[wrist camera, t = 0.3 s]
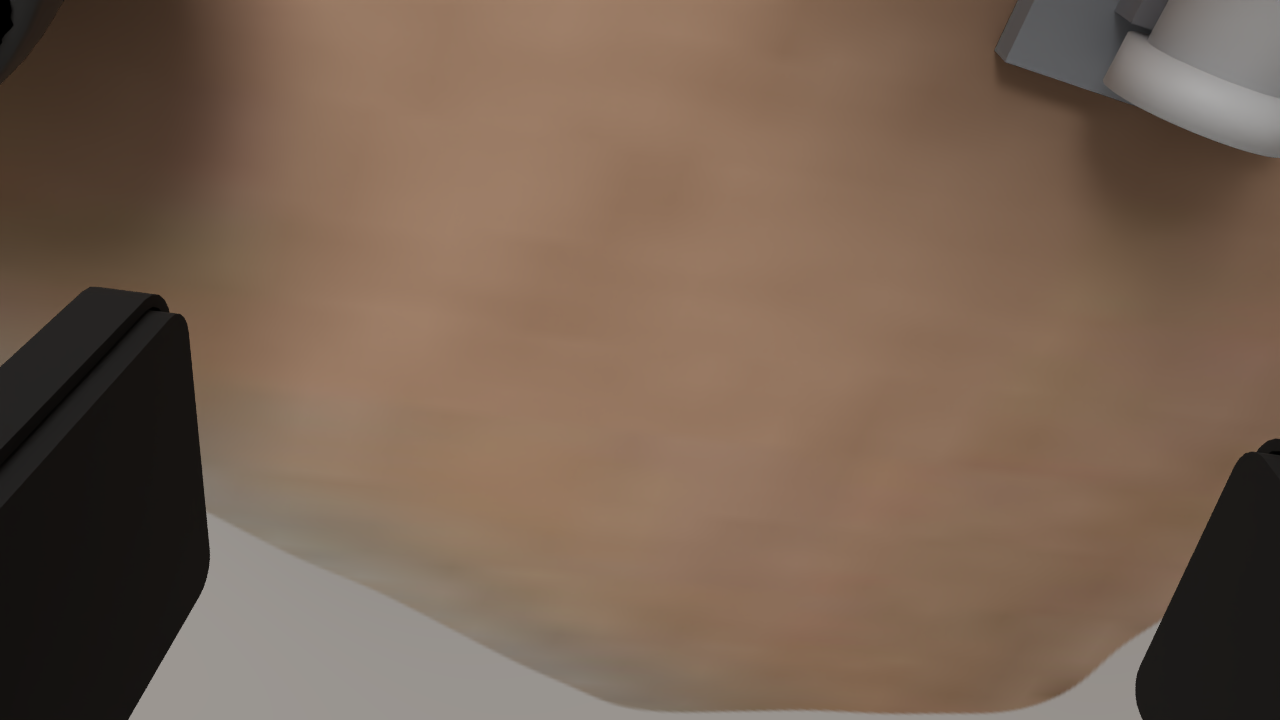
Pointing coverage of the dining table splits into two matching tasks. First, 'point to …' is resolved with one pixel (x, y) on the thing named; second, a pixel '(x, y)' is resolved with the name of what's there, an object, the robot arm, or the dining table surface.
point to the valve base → (1163, 59)
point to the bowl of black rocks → (22, 29)
